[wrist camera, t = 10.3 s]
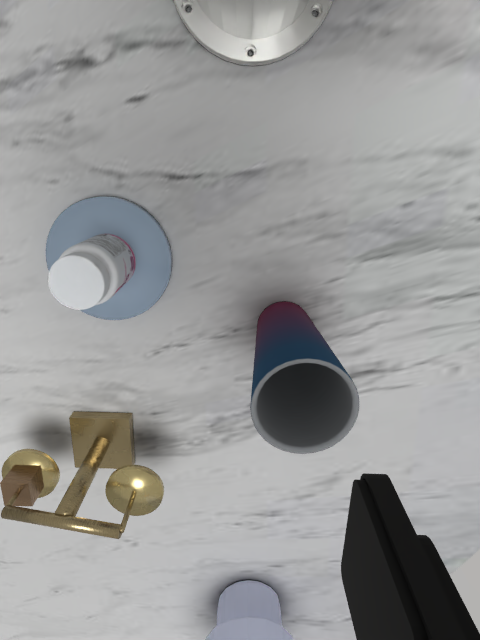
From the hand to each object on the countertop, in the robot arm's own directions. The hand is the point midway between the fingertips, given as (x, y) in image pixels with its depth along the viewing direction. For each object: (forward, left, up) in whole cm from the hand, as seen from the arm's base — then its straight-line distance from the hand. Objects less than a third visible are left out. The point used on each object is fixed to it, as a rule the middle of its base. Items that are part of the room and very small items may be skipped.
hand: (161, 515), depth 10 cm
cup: (+6, +6, -31) cm, 32 cm away
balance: (+19, -12, -30) cm, 38 cm away
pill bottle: (0, -10, -30) cm, 31 cm away
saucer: (0, -10, -30) cm, 32 cm away
